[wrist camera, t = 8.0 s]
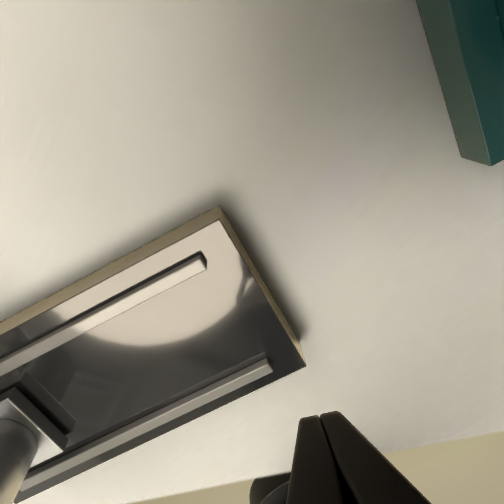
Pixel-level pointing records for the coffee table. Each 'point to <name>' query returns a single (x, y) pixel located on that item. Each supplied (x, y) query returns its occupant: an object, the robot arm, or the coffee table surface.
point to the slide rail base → (146, 346)
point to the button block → (470, 71)
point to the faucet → (23, 441)
